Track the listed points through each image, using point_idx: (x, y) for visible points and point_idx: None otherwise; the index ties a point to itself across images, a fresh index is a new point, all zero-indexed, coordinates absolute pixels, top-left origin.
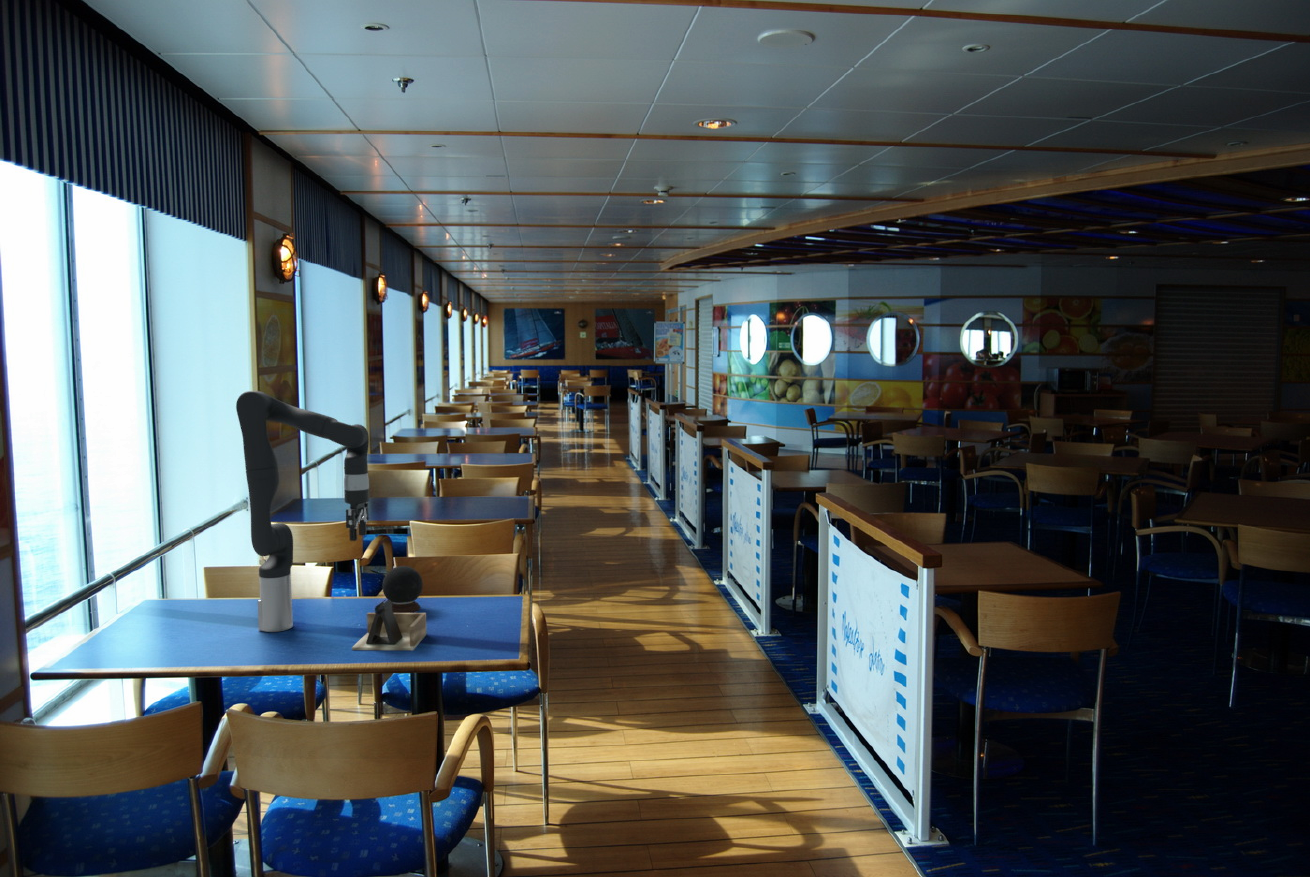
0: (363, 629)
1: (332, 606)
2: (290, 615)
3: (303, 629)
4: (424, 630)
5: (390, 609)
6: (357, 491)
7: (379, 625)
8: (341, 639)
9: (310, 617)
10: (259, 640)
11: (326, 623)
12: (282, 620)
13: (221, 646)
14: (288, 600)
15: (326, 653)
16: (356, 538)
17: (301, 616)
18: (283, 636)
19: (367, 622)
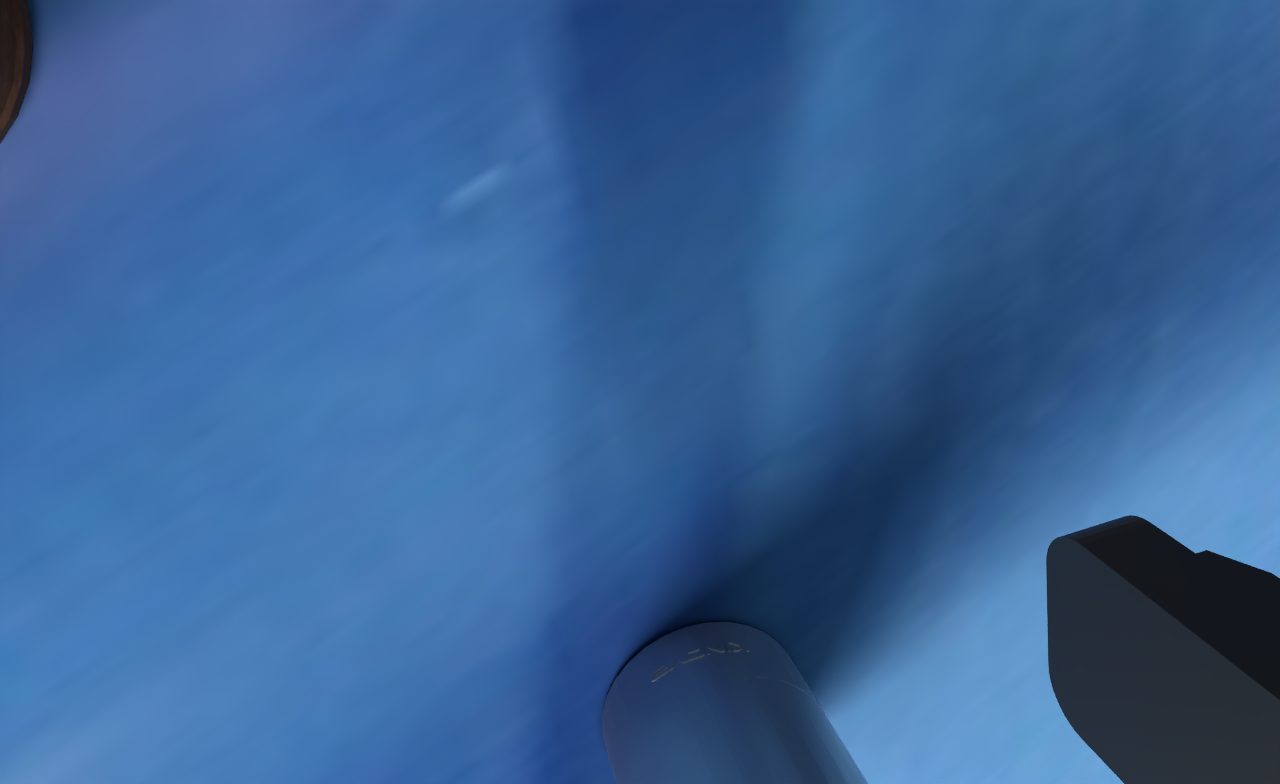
0: (594, 70)
1: (56, 729)
2: (723, 683)
3: (692, 534)
4: None
5: None
6: None
7: None
8: (871, 108)
9: (408, 679)
10: (943, 630)
11: (517, 474)
12: (788, 676)
13: (1054, 734)
14: (790, 768)
15: (1173, 31)
16: (1167, 545)
17: (405, 750)
18: (855, 553)
19: None
